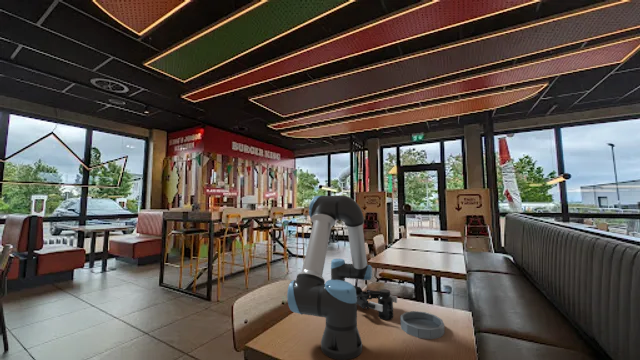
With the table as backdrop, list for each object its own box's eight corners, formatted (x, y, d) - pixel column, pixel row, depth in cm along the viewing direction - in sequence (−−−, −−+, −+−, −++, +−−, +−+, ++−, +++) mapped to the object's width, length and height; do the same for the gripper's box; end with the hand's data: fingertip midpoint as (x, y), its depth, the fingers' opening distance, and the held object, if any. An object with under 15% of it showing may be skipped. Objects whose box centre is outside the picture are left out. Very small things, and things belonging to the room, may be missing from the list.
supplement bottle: (392, 314, 126) (391, 288, 127) (394, 320, 119) (393, 293, 120) (377, 313, 127) (376, 288, 127) (379, 320, 120) (378, 293, 121)
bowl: (417, 341, 101) (417, 332, 102) (393, 322, 118) (393, 314, 118) (453, 335, 106) (453, 326, 106) (425, 317, 122) (425, 309, 123)
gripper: (366, 294, 145) (402, 304, 131) (337, 307, 127) (375, 321, 113) (365, 280, 146) (401, 288, 131) (337, 291, 128) (375, 303, 113)
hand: (389, 303), depth 122 cm, fingers open, 13 cm apart
